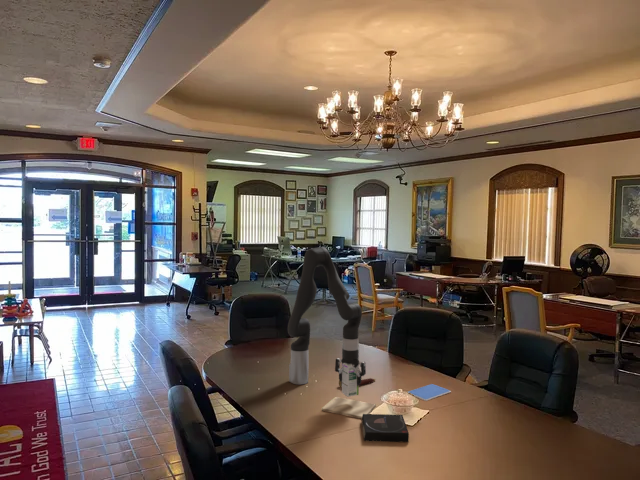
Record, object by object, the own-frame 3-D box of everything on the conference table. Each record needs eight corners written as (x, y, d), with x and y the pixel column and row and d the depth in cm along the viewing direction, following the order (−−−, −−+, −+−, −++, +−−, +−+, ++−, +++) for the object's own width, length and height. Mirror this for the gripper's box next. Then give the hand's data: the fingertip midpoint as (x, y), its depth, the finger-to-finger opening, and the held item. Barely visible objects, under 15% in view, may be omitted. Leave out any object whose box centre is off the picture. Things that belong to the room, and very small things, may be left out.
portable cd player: (361, 423, 193) (361, 413, 192) (402, 424, 192) (402, 414, 192) (363, 442, 176) (364, 432, 176) (408, 443, 176) (408, 433, 176)
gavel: (368, 372, 245) (382, 378, 238) (368, 381, 246) (381, 387, 238) (338, 378, 233) (351, 384, 225) (338, 387, 233) (351, 393, 225)
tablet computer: (425, 402, 215) (425, 399, 215) (405, 394, 225) (405, 391, 225) (451, 393, 227) (451, 390, 227) (431, 385, 237) (431, 383, 237)
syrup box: (347, 397, 206) (348, 365, 205) (341, 393, 211) (341, 361, 210) (358, 395, 208) (359, 363, 208) (351, 390, 214) (352, 360, 213)
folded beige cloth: (321, 410, 204) (321, 408, 204) (335, 398, 217) (335, 396, 217) (364, 419, 195) (364, 417, 195) (375, 406, 209) (375, 404, 209)
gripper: (332, 347, 208) (332, 382, 209) (362, 351, 202) (361, 388, 203) (339, 343, 215) (339, 377, 216) (368, 347, 209) (367, 382, 210)
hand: (350, 382), depth 209 cm, fingers closed on syrup box, 8 cm apart
